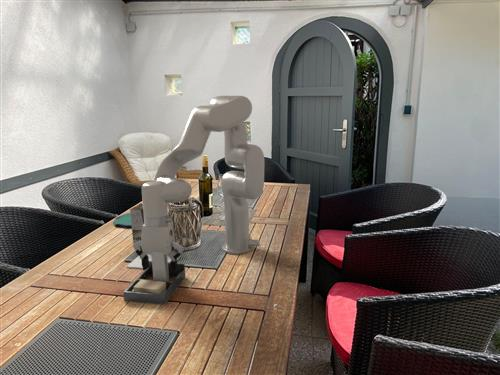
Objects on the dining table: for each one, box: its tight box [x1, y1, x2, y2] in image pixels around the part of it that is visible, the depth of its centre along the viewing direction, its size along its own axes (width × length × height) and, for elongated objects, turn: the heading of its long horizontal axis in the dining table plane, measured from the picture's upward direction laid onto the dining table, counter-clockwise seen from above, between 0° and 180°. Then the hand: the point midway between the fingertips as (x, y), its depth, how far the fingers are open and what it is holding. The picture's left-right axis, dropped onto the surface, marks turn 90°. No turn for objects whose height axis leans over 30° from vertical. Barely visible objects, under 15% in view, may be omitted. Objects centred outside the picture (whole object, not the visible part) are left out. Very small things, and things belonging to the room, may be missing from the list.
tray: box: [122, 261, 186, 306], centre depth 118 cm, size 13×17×5 cm
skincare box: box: [151, 252, 170, 281], centre depth 121 cm, size 6×4×12 cm
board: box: [126, 254, 182, 270], centre depth 137 cm, size 16×12×1 cm
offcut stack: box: [132, 279, 166, 294], centre depth 114 cm, size 10×5×4 cm, turn 77°
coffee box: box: [129, 203, 144, 248], centre depth 154 cm, size 9×6×16 cm
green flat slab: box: [112, 212, 132, 228], centre depth 181 cm, size 20×30×2 cm, turn 81°
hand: (159, 269), depth 121 cm, fingers open, 9 cm apart
